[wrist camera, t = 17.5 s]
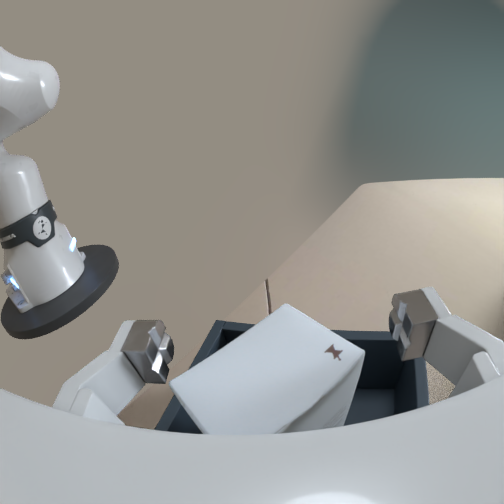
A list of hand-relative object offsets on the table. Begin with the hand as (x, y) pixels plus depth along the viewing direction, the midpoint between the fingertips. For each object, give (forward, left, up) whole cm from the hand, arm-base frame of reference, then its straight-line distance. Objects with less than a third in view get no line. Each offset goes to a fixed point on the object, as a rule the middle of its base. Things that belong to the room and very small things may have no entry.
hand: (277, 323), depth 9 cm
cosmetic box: (-1, -1, -13) cm, 13 cm away
